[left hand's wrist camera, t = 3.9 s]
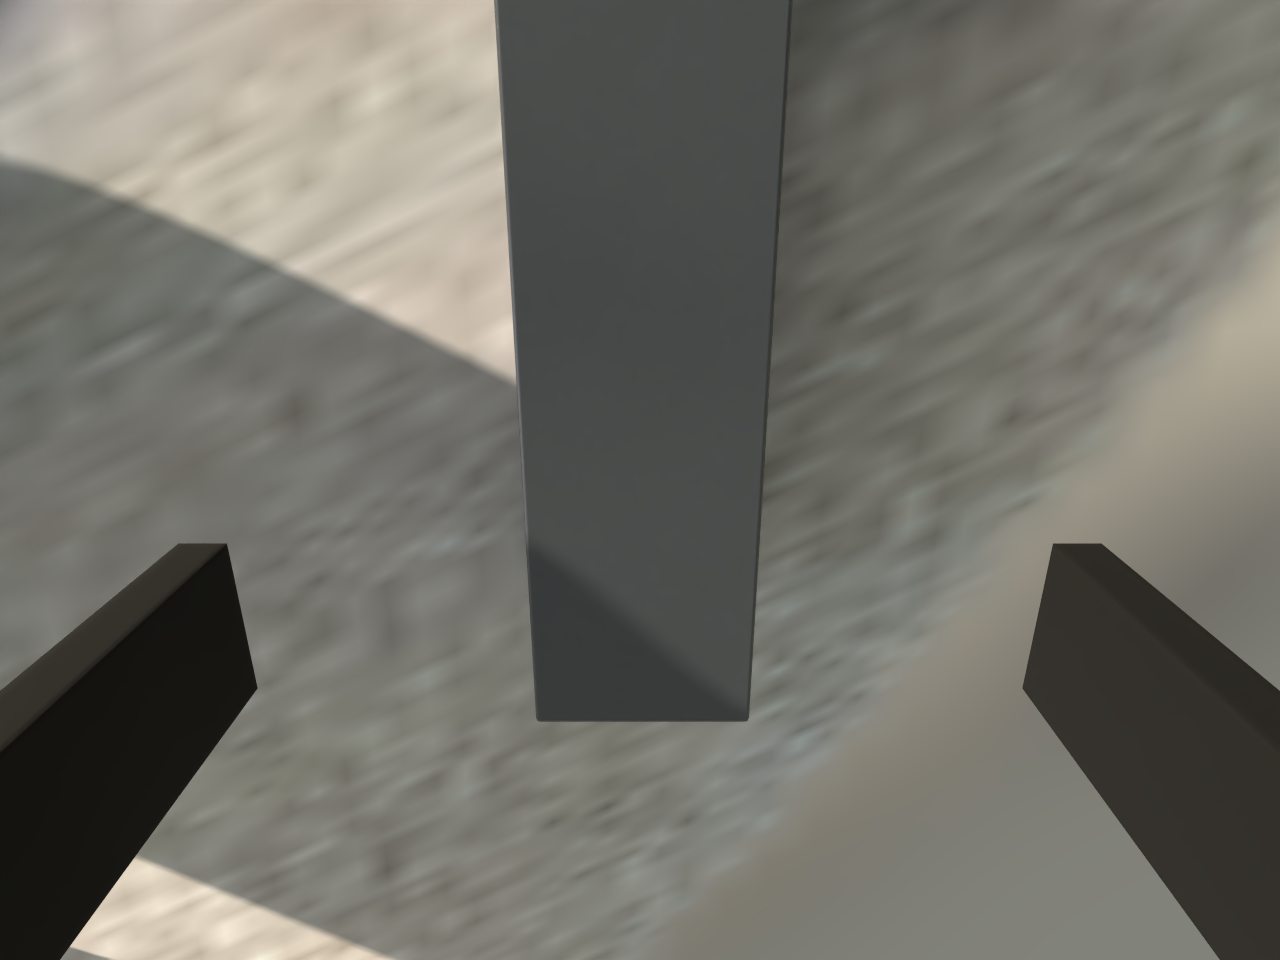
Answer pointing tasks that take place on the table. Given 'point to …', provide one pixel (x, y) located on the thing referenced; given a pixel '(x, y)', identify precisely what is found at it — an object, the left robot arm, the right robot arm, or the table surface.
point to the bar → (642, 340)
